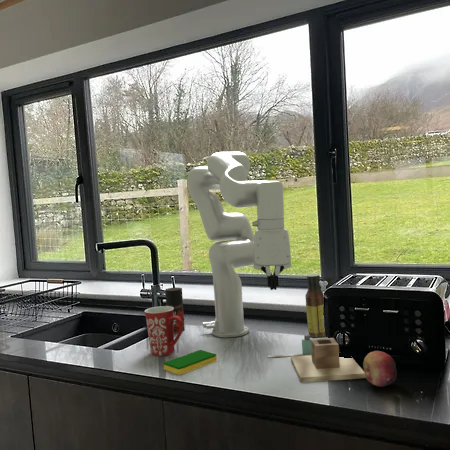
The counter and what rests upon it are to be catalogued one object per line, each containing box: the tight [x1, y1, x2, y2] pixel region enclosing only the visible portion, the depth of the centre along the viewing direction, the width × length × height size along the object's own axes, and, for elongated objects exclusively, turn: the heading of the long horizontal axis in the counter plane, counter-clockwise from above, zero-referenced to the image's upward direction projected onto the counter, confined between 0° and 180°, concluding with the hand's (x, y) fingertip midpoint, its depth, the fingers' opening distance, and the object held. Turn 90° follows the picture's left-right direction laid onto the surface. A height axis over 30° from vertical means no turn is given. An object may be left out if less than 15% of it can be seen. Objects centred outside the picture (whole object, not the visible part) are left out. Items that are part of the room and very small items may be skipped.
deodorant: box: [165, 287, 185, 334], centre depth 174 cm, size 6×6×15 cm
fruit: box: [362, 350, 398, 388], centre depth 115 cm, size 8×8×8 cm
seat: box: [267, 353, 367, 383], centre depth 130 cm, size 22×21×4 cm
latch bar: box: [301, 333, 323, 354], centre depth 140 cm, size 8×2×5 cm, turn 91°
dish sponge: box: [163, 349, 217, 375], centre depth 137 cm, size 7×14×2 cm, turn 134°
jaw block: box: [310, 337, 340, 369], centre depth 128 cm, size 6×6×6 cm
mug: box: [144, 305, 183, 357], centre depth 149 cm, size 13×9×14 cm
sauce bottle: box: [304, 273, 326, 338], centre depth 157 cm, size 7×6×20 cm
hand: (273, 288), depth 139 cm, fingers closed
